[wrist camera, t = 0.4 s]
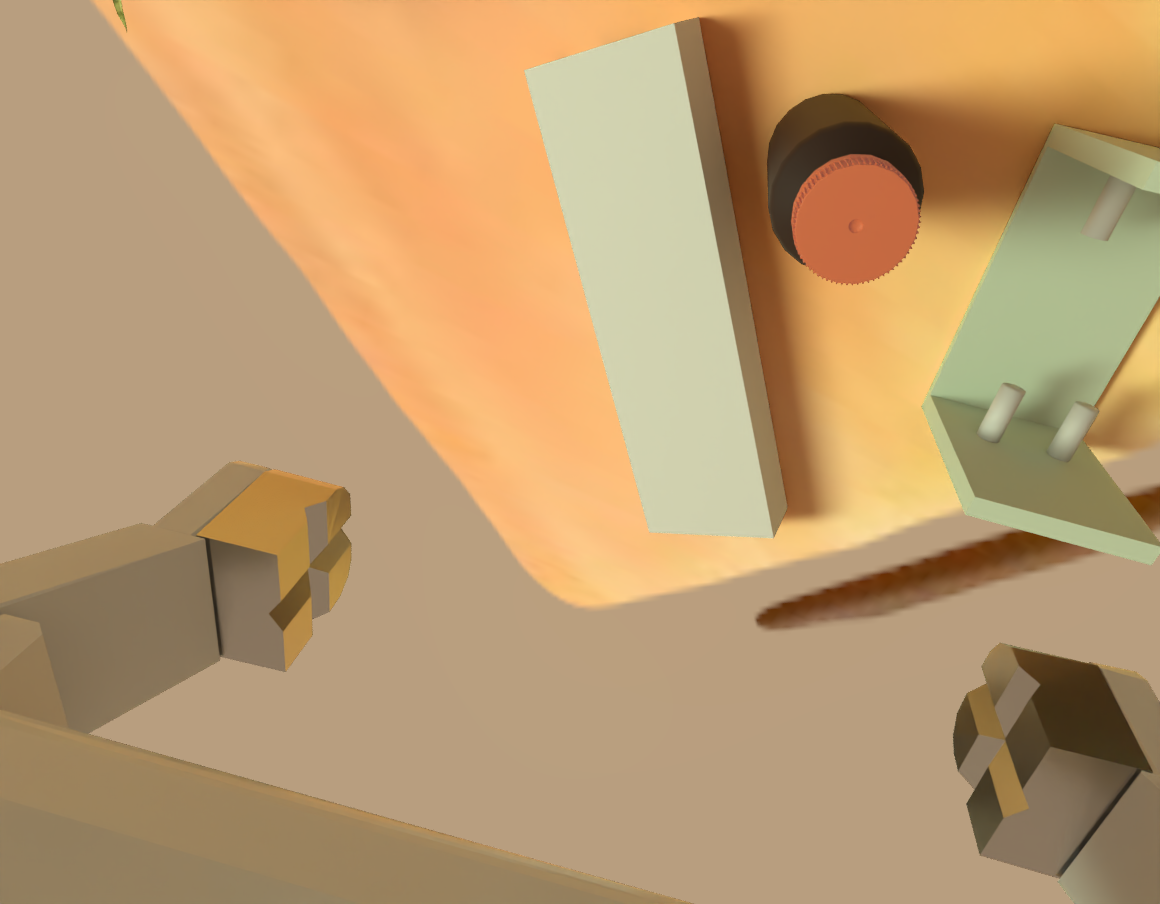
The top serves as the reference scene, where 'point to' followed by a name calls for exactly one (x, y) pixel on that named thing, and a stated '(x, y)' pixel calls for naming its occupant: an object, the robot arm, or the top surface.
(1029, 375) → the shelf frame
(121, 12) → the house plant
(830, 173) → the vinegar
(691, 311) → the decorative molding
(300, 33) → the top surface
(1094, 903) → the robot arm
